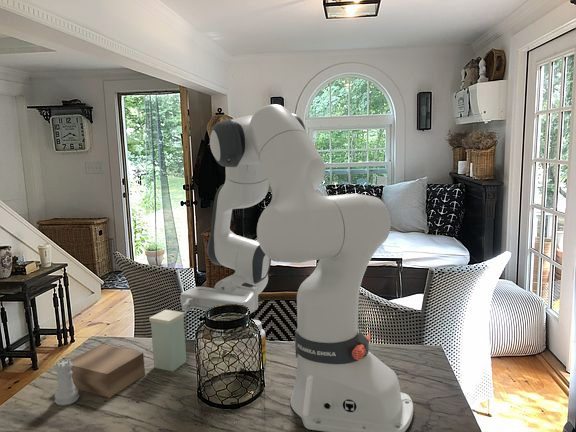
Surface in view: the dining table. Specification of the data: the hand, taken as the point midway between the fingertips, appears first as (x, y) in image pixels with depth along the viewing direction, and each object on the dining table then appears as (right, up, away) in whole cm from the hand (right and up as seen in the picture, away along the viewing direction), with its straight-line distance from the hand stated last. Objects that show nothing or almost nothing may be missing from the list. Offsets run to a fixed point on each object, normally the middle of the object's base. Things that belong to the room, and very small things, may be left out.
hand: (199, 311), depth 115 cm
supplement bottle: (+14, -10, -12) cm, 21 cm away
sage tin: (-5, -10, -10) cm, 15 cm away
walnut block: (-17, -11, -16) cm, 26 cm away
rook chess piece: (-21, -13, -24) cm, 34 cm away
